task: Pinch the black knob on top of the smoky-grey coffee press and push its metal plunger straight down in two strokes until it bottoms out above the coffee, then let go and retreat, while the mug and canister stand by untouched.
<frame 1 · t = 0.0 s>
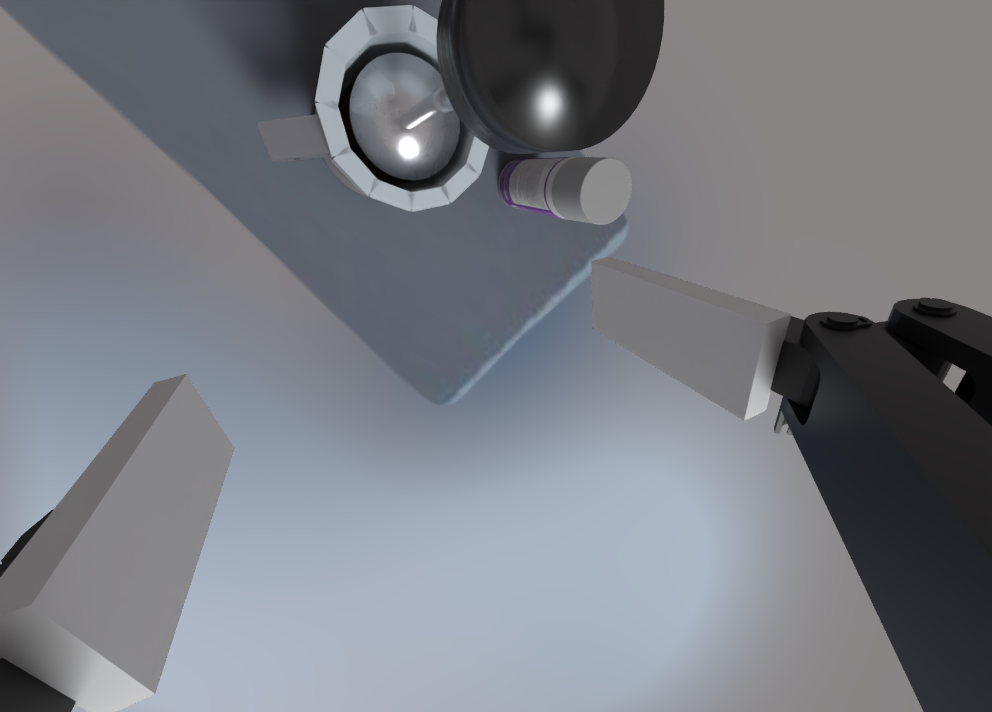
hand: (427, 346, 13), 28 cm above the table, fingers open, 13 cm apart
container: (517, 184, 40), on the table
plunger: (447, 98, 14), point 23 cm above the table, slide at 0.0 cm
carafe: (377, 137, 33), on the table
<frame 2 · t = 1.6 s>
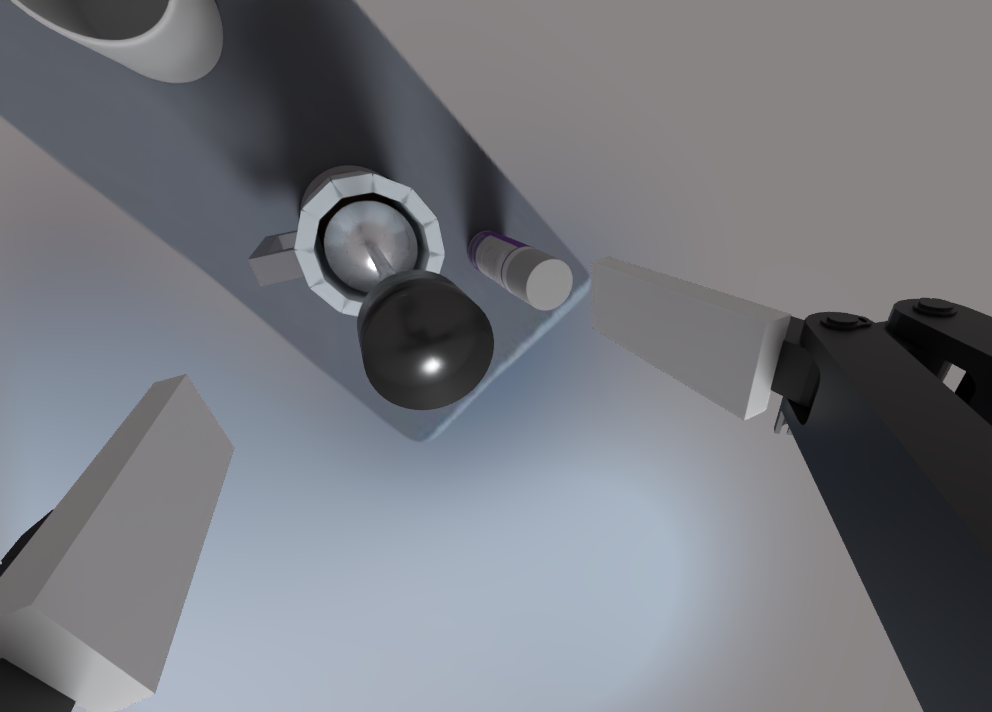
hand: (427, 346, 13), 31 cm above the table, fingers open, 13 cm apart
container: (486, 250, 44), on the table
plunger: (390, 280, 19), point 23 cm above the table, slide at 0.0 cm
carafe: (357, 221, 38), on the table
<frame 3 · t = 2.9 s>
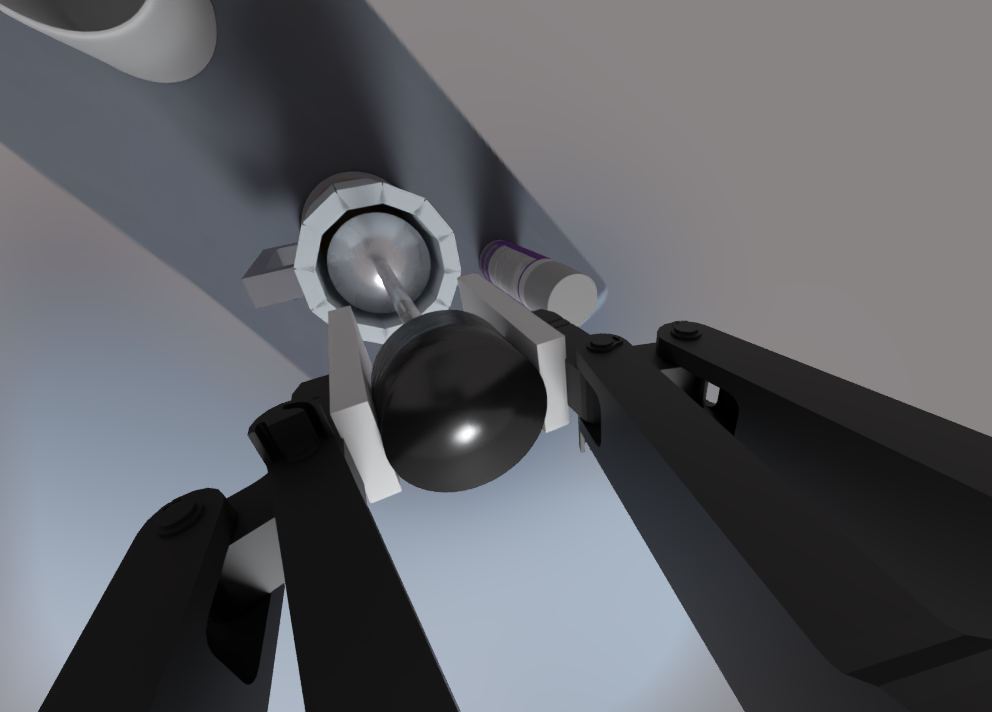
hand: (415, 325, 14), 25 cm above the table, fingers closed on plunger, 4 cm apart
container: (498, 261, 42), on the table
plunger: (405, 307, 16), point 23 cm above the table, slide at 0.0 cm, touching gripper
carafe: (362, 231, 35), on the table
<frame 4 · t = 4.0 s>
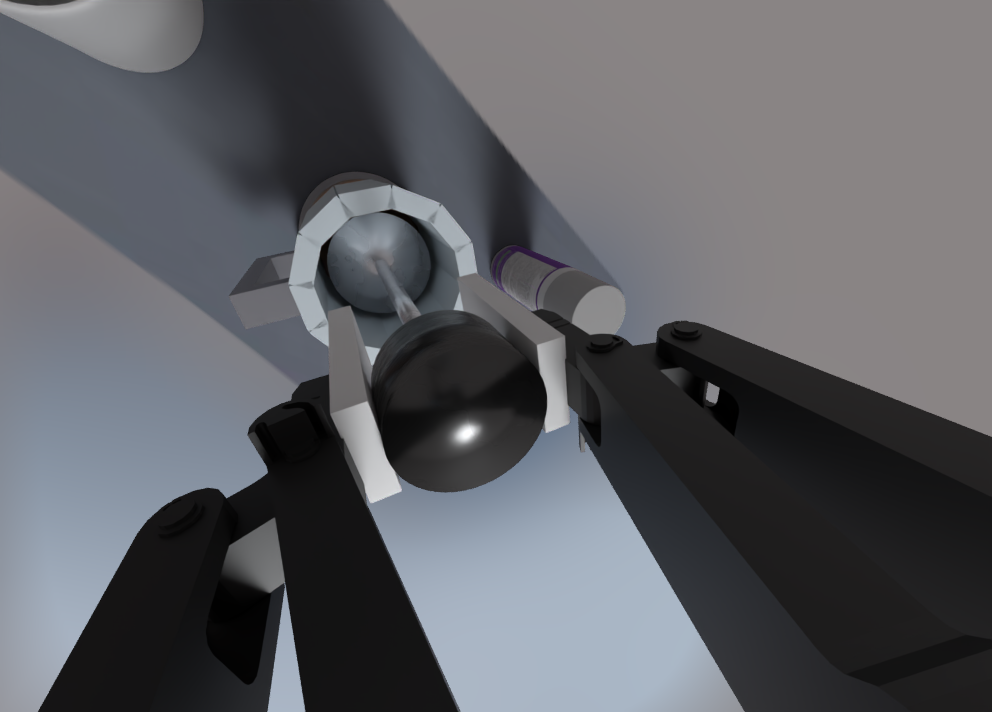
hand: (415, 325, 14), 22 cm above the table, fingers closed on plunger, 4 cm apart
container: (510, 267, 39), on the table
plunger: (405, 307, 16), point 20 cm above the table, slide at 3.4 cm, touching gripper
carafe: (365, 236, 32), on the table
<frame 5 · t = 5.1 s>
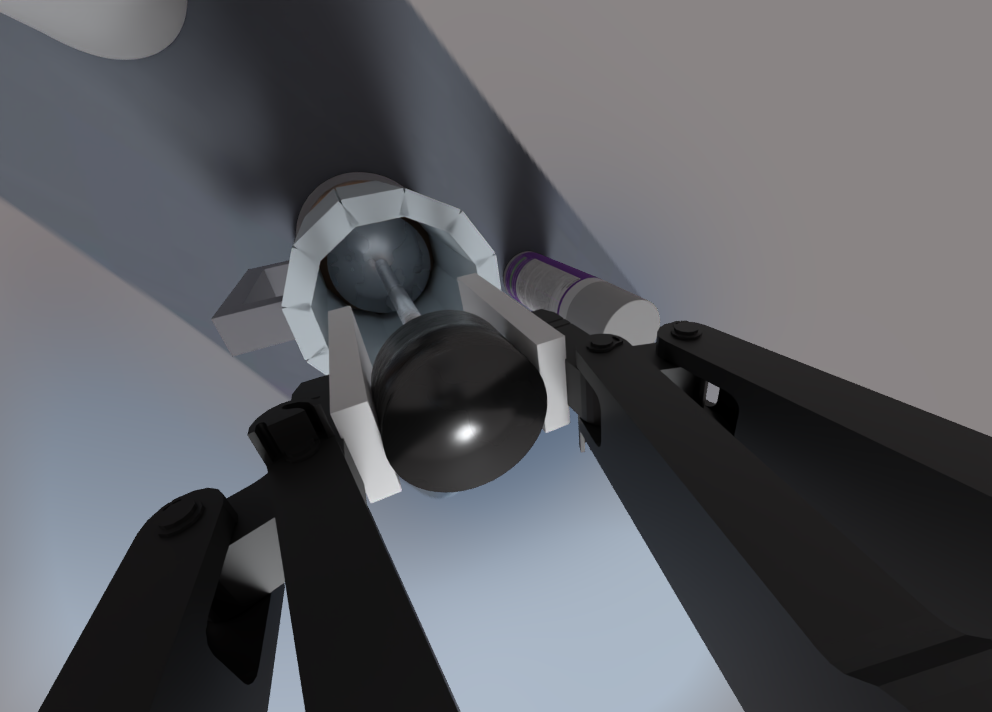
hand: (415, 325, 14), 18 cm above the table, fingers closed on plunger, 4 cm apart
container: (524, 275, 36), on the table
plunger: (405, 307, 16), point 16 cm above the table, slide at 6.7 cm, touching gripper
carafe: (368, 243, 30), on the table
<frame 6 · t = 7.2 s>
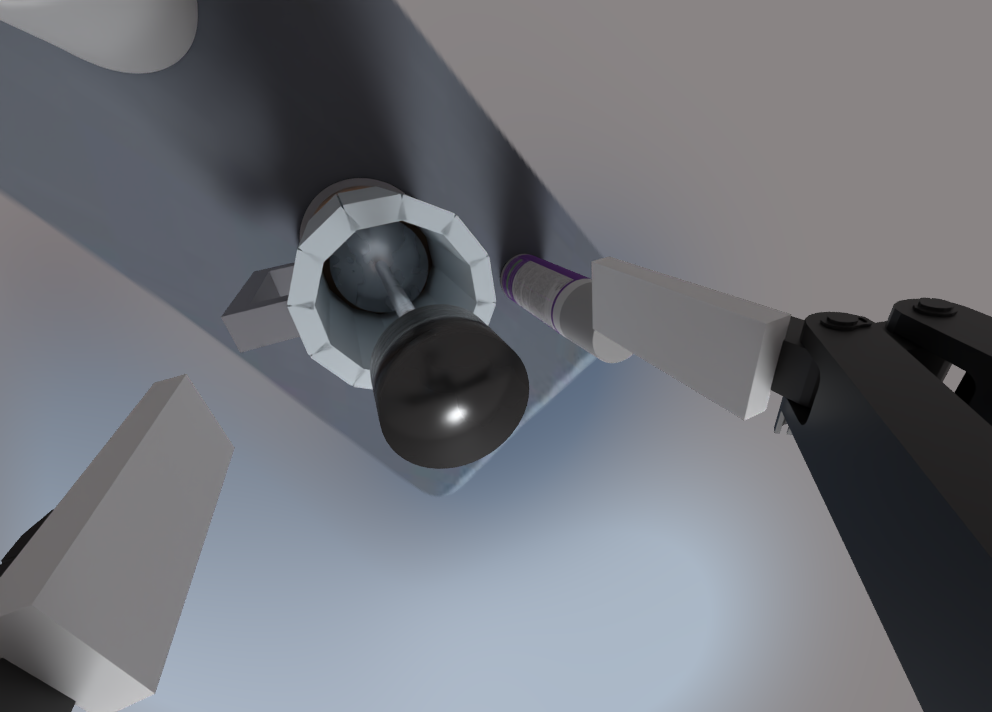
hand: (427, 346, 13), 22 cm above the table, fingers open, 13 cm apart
container: (521, 277, 37), on the table
plunger: (402, 305, 17), point 16 cm above the table, slide at 6.8 cm
carafe: (369, 246, 31), on the table
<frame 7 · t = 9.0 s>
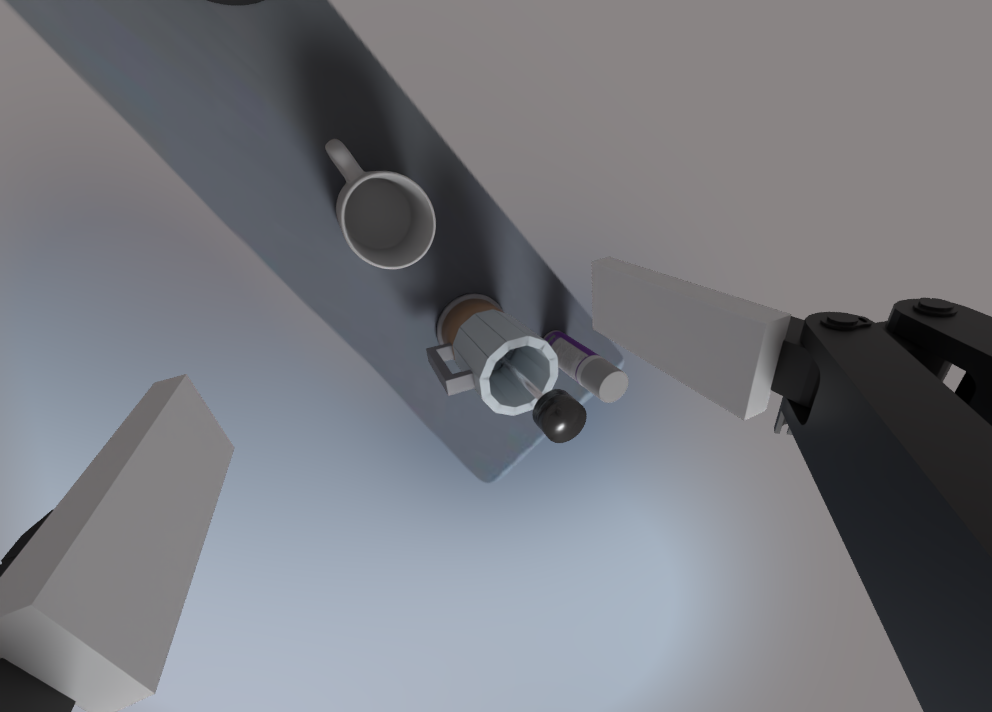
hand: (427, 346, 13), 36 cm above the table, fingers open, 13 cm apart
container: (552, 343, 60), on the table
mug: (366, 200, 42), on the table
plunger: (521, 378, 40), point 16 cm above the table, slide at 6.8 cm
carafe: (471, 328, 53), on the table
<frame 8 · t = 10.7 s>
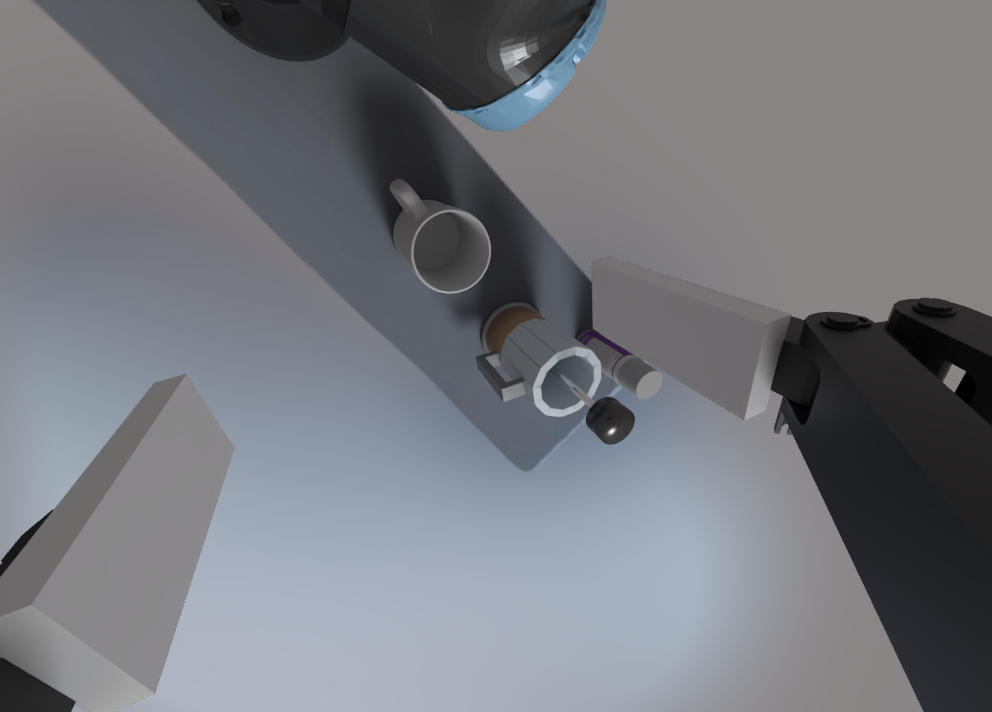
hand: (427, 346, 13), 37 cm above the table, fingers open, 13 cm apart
container: (585, 342, 64), on the table
mug: (418, 224, 46), on the table
plunger: (569, 384, 44), point 16 cm above the table, slide at 6.8 cm
carafe: (512, 333, 57), on the table
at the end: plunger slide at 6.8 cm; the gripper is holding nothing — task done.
